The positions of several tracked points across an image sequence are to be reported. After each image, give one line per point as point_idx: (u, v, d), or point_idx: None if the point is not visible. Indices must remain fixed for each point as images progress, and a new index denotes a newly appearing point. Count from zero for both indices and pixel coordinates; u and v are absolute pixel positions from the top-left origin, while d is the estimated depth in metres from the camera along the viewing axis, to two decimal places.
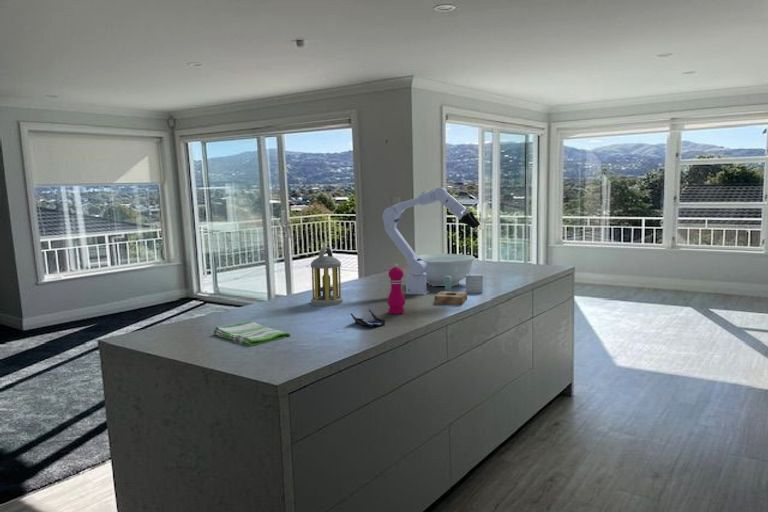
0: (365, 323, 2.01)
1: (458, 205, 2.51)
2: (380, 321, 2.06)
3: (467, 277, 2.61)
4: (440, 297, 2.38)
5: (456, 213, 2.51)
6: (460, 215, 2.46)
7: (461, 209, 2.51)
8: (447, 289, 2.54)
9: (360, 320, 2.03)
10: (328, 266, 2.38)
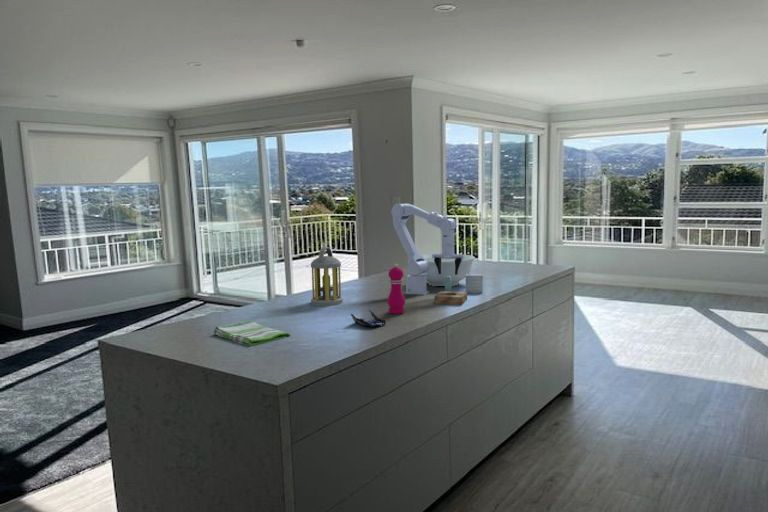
0: (366, 323, 2.00)
1: (442, 247, 2.52)
2: (380, 321, 2.06)
3: (467, 277, 2.61)
4: (440, 297, 2.38)
5: None
6: None
7: (442, 252, 2.53)
8: (447, 289, 2.54)
9: (361, 320, 2.02)
10: (328, 266, 2.38)
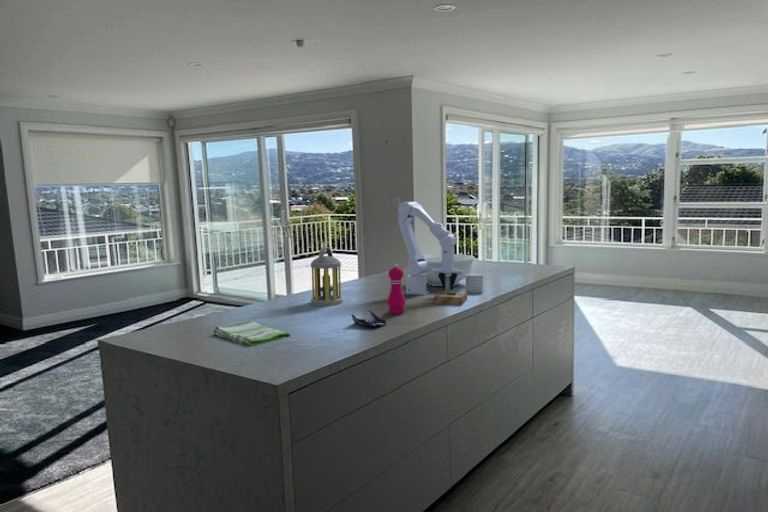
0: (368, 324, 2.00)
1: (442, 263, 2.53)
2: (381, 321, 2.05)
3: (467, 277, 2.61)
4: (440, 297, 2.38)
5: None
6: None
7: (442, 267, 2.54)
8: (447, 289, 2.54)
9: (362, 321, 2.02)
10: (328, 266, 2.38)
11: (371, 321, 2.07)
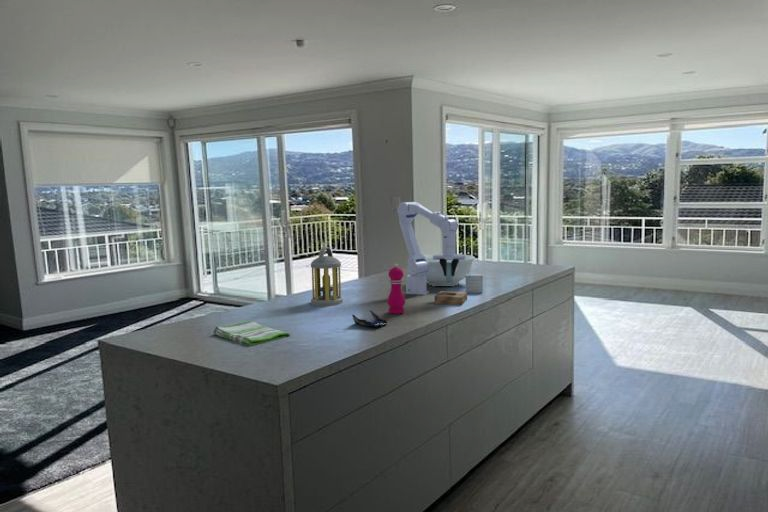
0: (370, 324, 2.00)
1: (443, 248, 2.48)
2: (381, 321, 2.05)
3: (467, 277, 2.61)
4: (440, 297, 2.38)
5: None
6: None
7: (443, 253, 2.49)
8: (448, 275, 2.49)
9: (363, 321, 2.01)
10: (328, 266, 2.38)
11: (372, 321, 2.06)
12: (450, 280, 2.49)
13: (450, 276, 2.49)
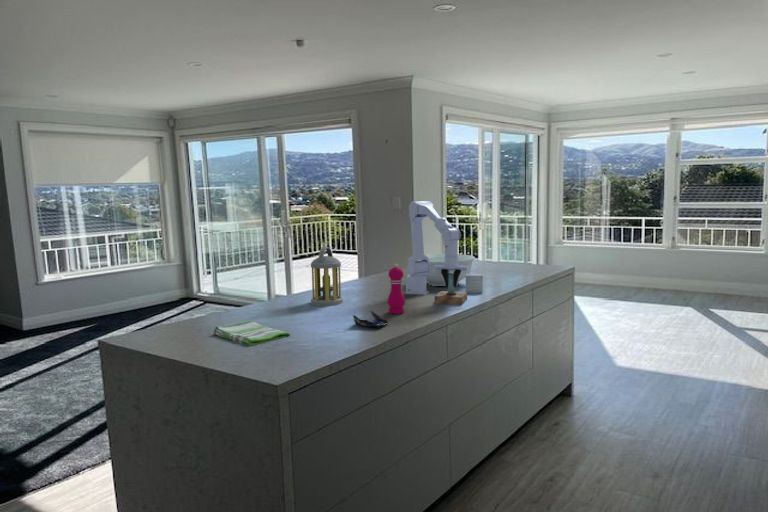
0: (371, 324, 1.99)
1: (445, 258, 2.40)
2: (382, 321, 2.05)
3: (467, 277, 2.61)
4: (440, 297, 2.38)
5: None
6: None
7: (445, 263, 2.41)
8: (450, 286, 2.41)
9: (365, 322, 2.00)
10: (328, 266, 2.38)
11: (372, 321, 2.06)
12: (452, 291, 2.41)
13: (452, 287, 2.41)
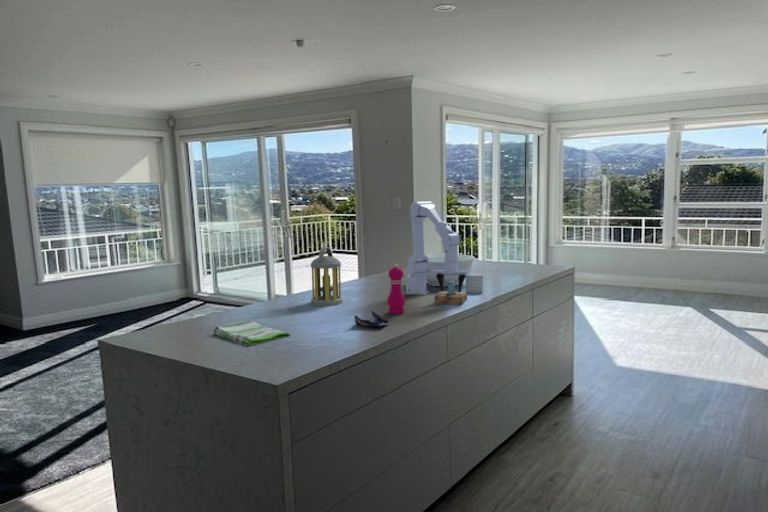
0: (373, 324, 1.99)
1: (445, 263, 2.40)
2: (382, 321, 2.05)
3: (467, 277, 2.61)
4: (440, 297, 2.38)
5: None
6: None
7: (445, 268, 2.41)
8: None
9: (366, 322, 2.00)
10: (328, 266, 2.38)
11: (372, 322, 2.06)
12: None
13: None
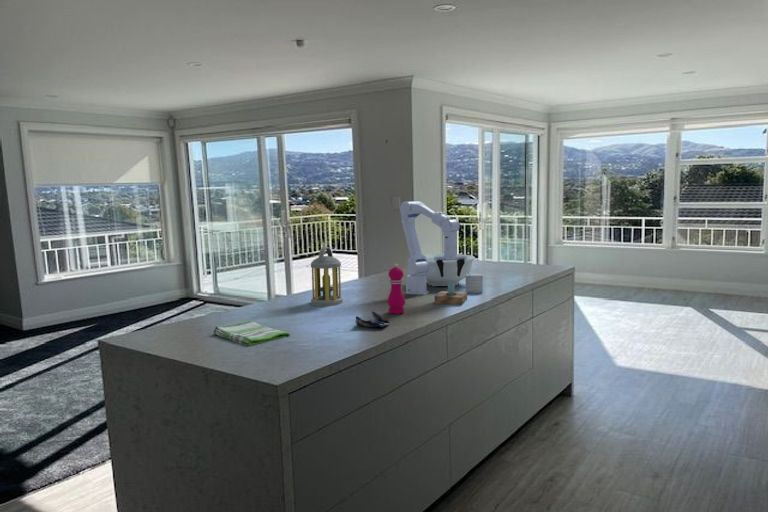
0: (375, 325, 1.98)
1: (446, 249, 2.45)
2: (383, 321, 2.05)
3: (467, 277, 2.61)
4: (440, 297, 2.38)
5: None
6: (434, 258, 2.47)
7: (446, 254, 2.46)
8: None
9: (368, 322, 1.99)
10: (328, 266, 2.38)
11: (373, 322, 2.05)
12: None
13: None
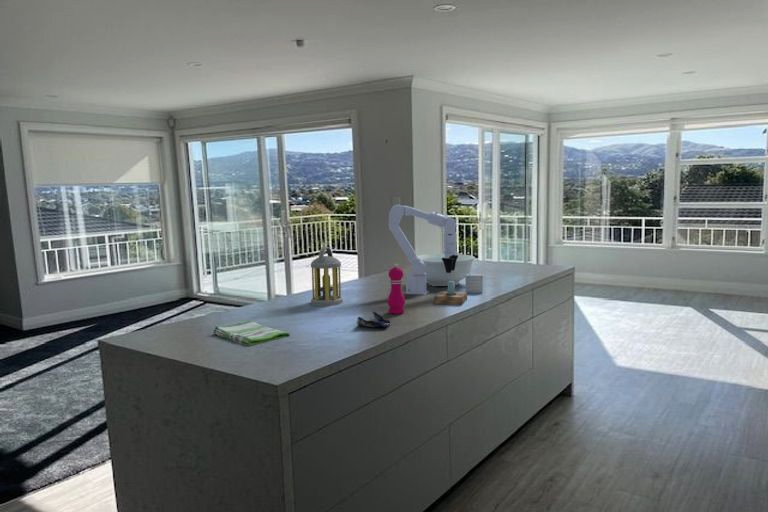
0: (378, 325, 1.98)
1: (452, 245, 2.58)
2: (384, 321, 2.05)
3: (467, 277, 2.61)
4: (440, 297, 2.38)
5: (445, 249, 2.59)
6: (446, 256, 2.55)
7: (451, 250, 2.58)
8: None
9: (370, 323, 1.99)
10: (328, 266, 2.38)
11: None
12: None
13: None
